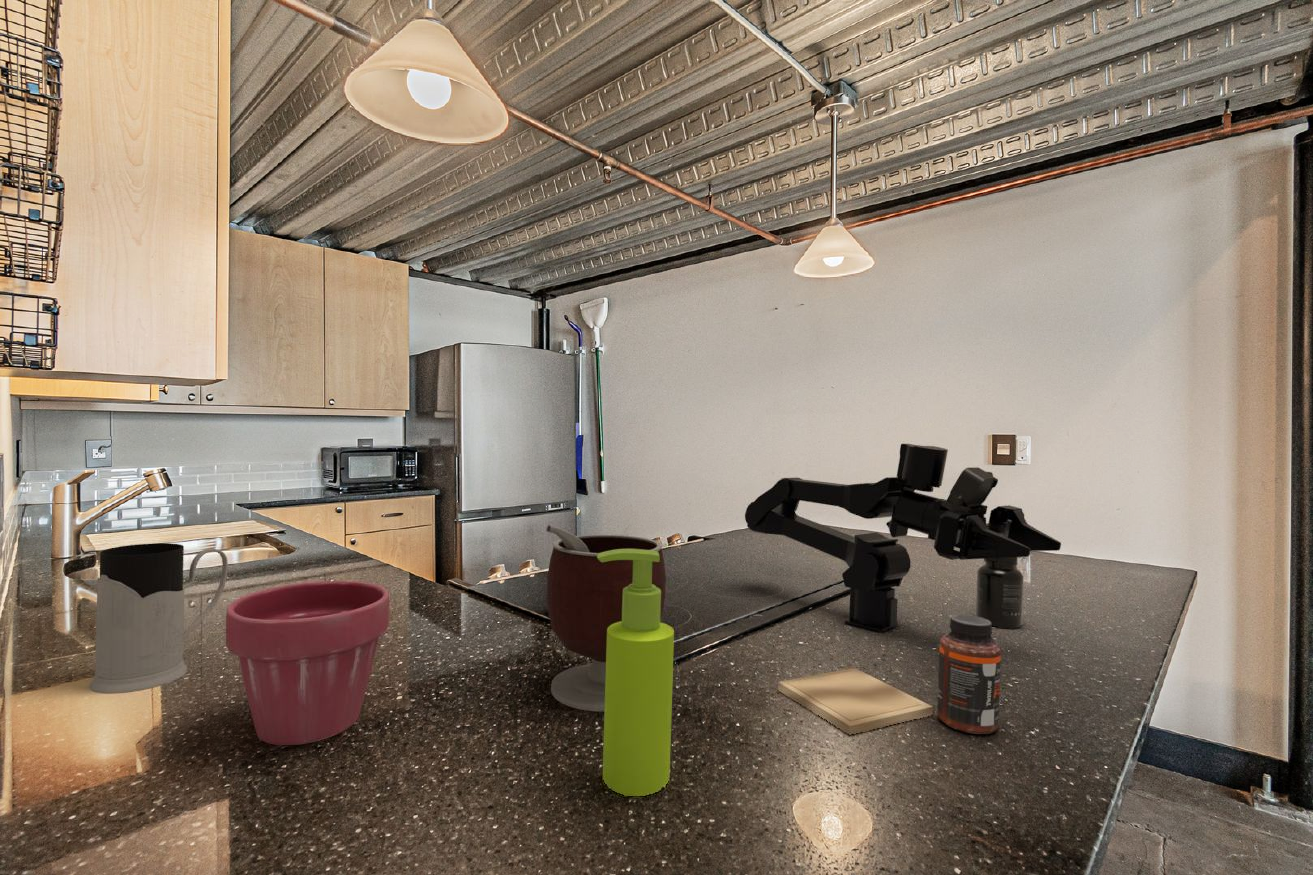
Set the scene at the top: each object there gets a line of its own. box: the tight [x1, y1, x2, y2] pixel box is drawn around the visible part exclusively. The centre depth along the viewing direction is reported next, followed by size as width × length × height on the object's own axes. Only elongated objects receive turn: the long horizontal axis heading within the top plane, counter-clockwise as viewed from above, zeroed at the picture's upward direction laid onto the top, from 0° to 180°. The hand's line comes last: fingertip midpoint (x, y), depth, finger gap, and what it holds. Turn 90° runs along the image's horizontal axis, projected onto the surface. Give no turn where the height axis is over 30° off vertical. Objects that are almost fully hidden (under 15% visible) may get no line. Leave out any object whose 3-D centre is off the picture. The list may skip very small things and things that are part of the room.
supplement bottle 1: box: [936, 614, 1002, 735], centre depth 67 cm, size 6×6×11 cm
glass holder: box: [88, 542, 229, 694], centre depth 75 cm, size 9×14×15 cm, turn 160°
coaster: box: [777, 667, 934, 736], centre depth 71 cm, size 12×12×1 cm
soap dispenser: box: [597, 549, 675, 797], centre depth 54 cm, size 6×7×20 cm
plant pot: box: [225, 580, 390, 746], centre depth 62 cm, size 14×14×13 cm
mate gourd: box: [546, 524, 667, 712], centre depth 73 cm, size 16×14×20 cm
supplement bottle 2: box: [975, 557, 1024, 630], centre depth 105 cm, size 7×7×12 cm
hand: (1045, 549), depth 81 cm, fingers open, 9 cm apart
